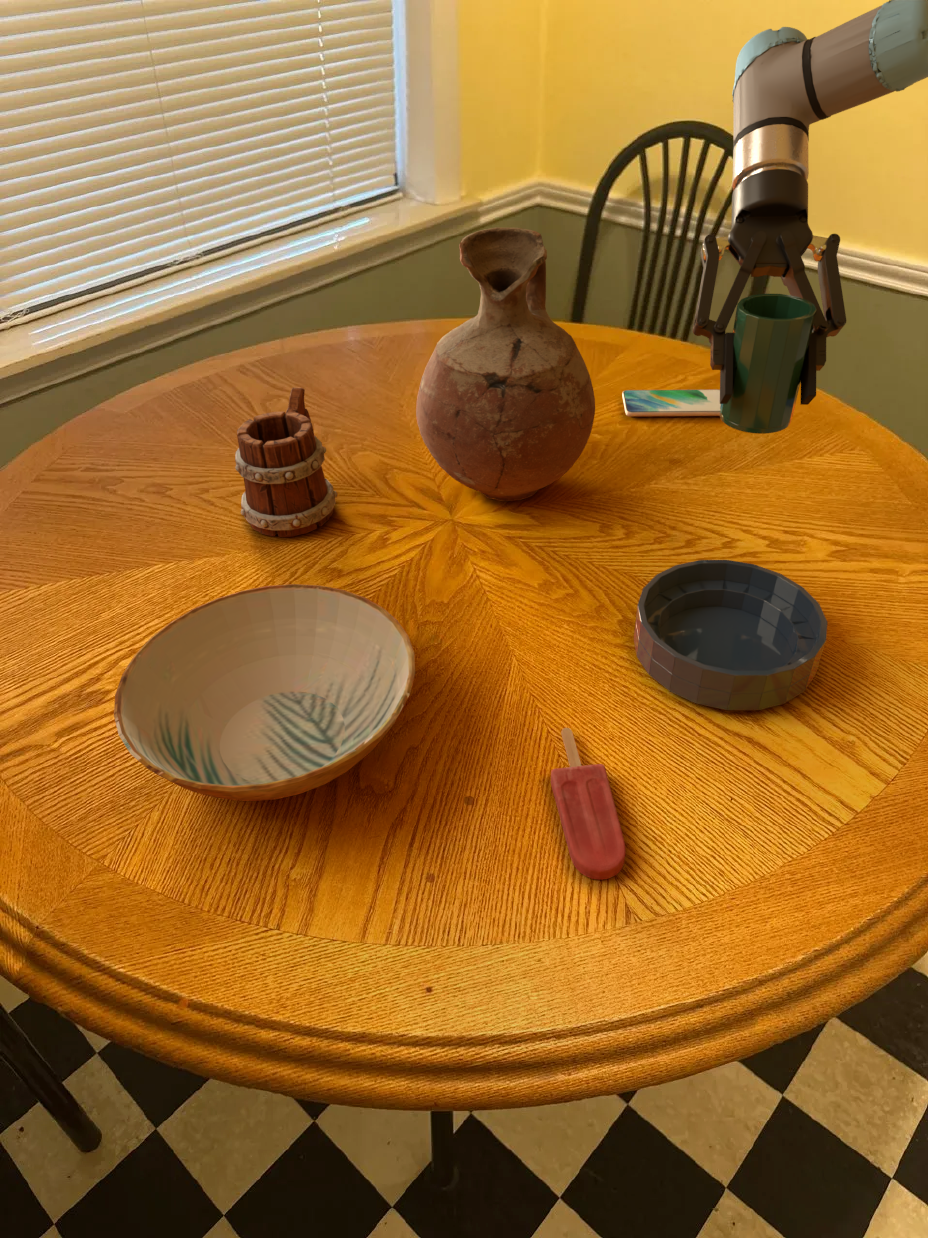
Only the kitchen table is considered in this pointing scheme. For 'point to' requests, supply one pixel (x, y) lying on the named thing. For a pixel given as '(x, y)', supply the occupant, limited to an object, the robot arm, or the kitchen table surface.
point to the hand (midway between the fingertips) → (767, 399)
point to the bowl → (265, 691)
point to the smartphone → (672, 402)
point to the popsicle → (588, 815)
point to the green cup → (768, 361)
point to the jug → (506, 378)
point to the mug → (283, 472)
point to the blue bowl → (729, 634)
